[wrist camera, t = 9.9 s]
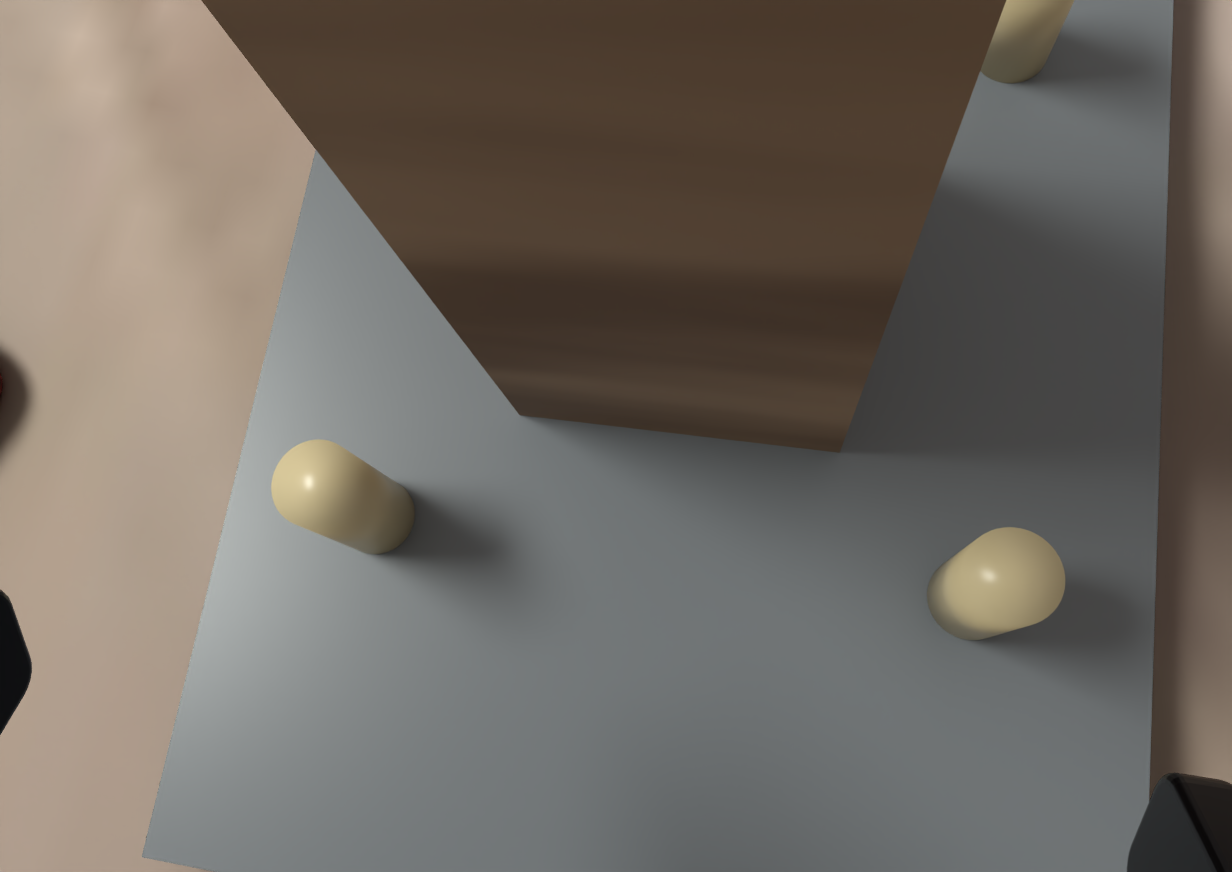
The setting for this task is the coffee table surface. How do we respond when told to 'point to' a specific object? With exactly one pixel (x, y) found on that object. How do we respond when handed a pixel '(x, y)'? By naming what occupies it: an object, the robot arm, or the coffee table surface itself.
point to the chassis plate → (717, 555)
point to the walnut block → (642, 185)
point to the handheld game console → (0, 383)
